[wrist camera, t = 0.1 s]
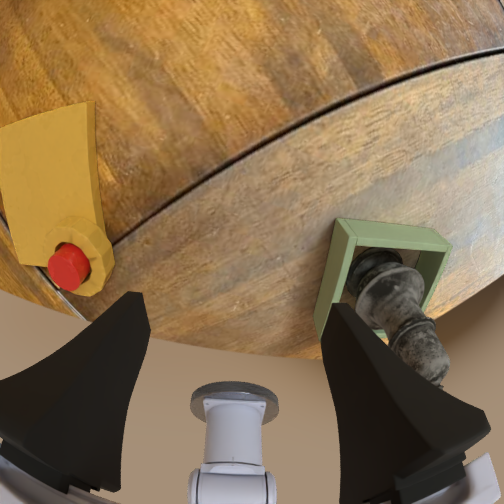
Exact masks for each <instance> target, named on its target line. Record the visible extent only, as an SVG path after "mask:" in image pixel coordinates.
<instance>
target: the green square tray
mask: <svg viewBox="0 0 504 504" xmlns="http://www.w3.org/2000/svg"><path fill="white" fill-rule="evenodd" d="M355 245H356V246H370V247H384V248H398V249H411V250H422V251H421V254H420V256H419V259H418V262H417V264H416V267H415V269H416V270H417V271H418V272H419V273H420V274H421V275H422V278H423V280H424V288H425V289H424V293H423V297H422V299H421V302H420V304H419V307H420V308H421V310H422V311H423V313H424V311H425V309H426V307H427V305H428V303H429V301H430V299H431V297H432V295H433V293H434V291H435V288H436V286H437V284H438V282H439V280H440V277H441V275H442V273H443V270H444V268H445V265H446V263H447V261H448V258H449V255H450V253H451V250H452V247H453V246H452V245H451V244H450V243H449V242H448V241H447V240H446V239H445V238H443V237H442V236H441V235H440V234H439V233H438V232H437V231H435V230H434V229H430V228H423V227H415V226H407V225H399V224H391V223H382V222H373V221H364V220H354V219H343V218H336V220H335V225H334V230H333V235H332V240H331V244H330V249H329V253H328V258H327V262H326V266H325V271H324V275H323V279H322V283H321V287H320V291H319V295H318V298H317V302H316V306H315V310H314V313H313V319H314V323H315V327H316V331H317V335H318V339H319V341H320V339H321V336H322V333H323V330H324V327H325V324H326V321H327V318H328V315H329V311H330V308H331V305H332V303H339V301H340V297H341V294H342V291H343V288H344V284H345V281H346V278H347V274H348V271H349V267H350V264H351V260H352V256H353V253H354V249H355ZM373 331H374V332H375V334H376V335H377V336H378V337H379V338H387V336H386V334H385V331H384V329H383V330H373Z"/></svg>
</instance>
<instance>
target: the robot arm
mask: <svg viewBox="0 0 504 504" xmlns="http://www.w3.org/2000/svg"><path fill="white" fill-rule="evenodd" d="M150 332H151V329H150V325H149V321H148V317H147V313H146V308H145V304H144V299H143V294H142V293H140V292H130V291H128V292H127V293H125V294H124V295H123V296H122V297H121V298H120V299H118V300H117V301H116V302H115V303H114V304H113V305H112V306H111V307H109V308H108V309H107V310H106V311H105V312H104V313H103V314H102V315H101V316H99V317H98V318H97V319H96V320H95V321H94V322H93V323H92V324H90V325H89V326H88V327H87V328H85V329H84V330H83V331H82V332H81V333H79V334H78V335H77V336H76V337H75V338H74V339H72V340H71V341H70V342H68V343H67V344H66V345H64V346H63V347H61V348H60V349H59V350H57V351H56V352H54V353H53V354H51V355H50V356H48V357H46V358H45V359H43V360H41V361H39V362H38V363H36V364H35V365H33V366H31V367H29V368H27V369H25V370H23V371H21V372H19V373H17V374H15V375H13V376H10V377H8V378H5V379H3V380H0V437H1V438H2V439H3V441H2V444H1V443H0V504H119V503H116V502H113V501H110V500H107V499H104V498H102V497H99V496H96V495H94V494H91V493H90V489H93V490H96V491H100V488H101V489H104V490H107V491H110V492H117V491H119V490H120V489H121V453H122V443H123V434H124V427H125V421H126V416H127V410H128V406H129V402H130V398H131V395H132V392H133V389H134V386H135V383H136V380H137V377H138V374H139V371H140V369H141V366H142V363H143V360H144V357H145V354H146V350H147V346H148V342H149V337H150ZM320 341H321V349H322V356H323V363H324V367H325V371H326V374H327V378H328V382H329V386H330V390H331V394H332V398H333V402H334V406H335V411H336V416H337V423H338V432H339V443H340V466H341V479H340V498H339V503H340V504H493V503H494V502H495V501H497V500H498V499H499V498H500V497H501V493H500V489H499V485H498V482H497V478H496V475H495V471H494V468H493V465H492V462H491V459H490V456H489V453H488V452H486V453H484V454H483V455H482V456H480V457H478V458H477V459H475V460H473V461H472V462H470V463H468V464H467V465H465V466H463V463H462V461H464V460H465V459H466V455H465V453H464V452H465V451H466V450H467V449H469V448H470V447H472V446H473V445H474V444H476V443H477V442H479V441H480V440H481V439H482V438H484V437H485V436H486V435H487V434H488V433H489V432H490V430H491V427H490V425H489V423H488V420H487V418H486V415H485V413H484V411H483V410H481V409H479V408H476V407H474V406H472V405H469V404H467V403H465V402H463V401H461V400H459V399H457V398H455V397H453V396H451V395H450V394H448V393H447V392H445V391H443V390H442V389H440V388H438V387H437V386H435V385H434V384H433V383H431V382H430V381H428V380H427V379H425V378H424V377H423V376H421V375H420V374H419V373H417V372H416V371H415V370H414V369H413V368H411V367H410V366H409V365H408V364H406V363H405V362H404V361H403V360H402V359H401V358H400V357H399V356H398V355H397V354H395V353H394V352H393V351H392V350H391V349H390V348H389V347H388V346H387V345H386V344H385V343H384V342H383V341H382V340H381V339H380V338H379V337H378V336H377V335H376V334H375V332H374V331H373V330H372V329H371V328H370V327H369V326H368V325H367V324H366V323H365V322H364V321H363V319H362V318H361V317H360V316H359V315H358V314H357V313H356V312H355V311H354V310H353V309H352V308H351V306H350V305H349V304H348V303H332V305H331V308H330V311H329V315H328V318H327V321H326V324H325V327H324V330H323V333H322V336H321V339H320ZM203 404H204V410H205V416H206V422H207V427H206V438H205V449H204V461H203V464H202V463H201V468H200V469H195V470H194V471H192V472H191V474H190V477H189V482H188V493H187V495H188V497H187V498H188V504H276V502H277V489H276V481H275V477H274V476H273V475H272V474H271V473H270V472H265V467H264V466H262V444H261V442H262V441H261V424H262V420H263V416H264V412H265V408H266V402H265V401H247V400H225V399H211V398H204V399H203Z"/></svg>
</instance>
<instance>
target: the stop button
mask: <svg viewBox="0 0 504 504" xmlns="http://www.w3.org/2000/svg"><path fill="white" fill-rule="evenodd" d="M48 271H49V274H50V276H51V278H52V279H53V281H54V282H55V283H56V284H57V285H58V286H59V287H61V288H62V289H64V290H67V291H74V290H76V289H77V288H78V287H79V286H80V285H81V283H82V282H83V281H84V279H85V278H86V277H87V275H88V274H89V272H90V262H89V259H88V258H87V257H86V255H85V254H84V252H83V251H82V250H81V249H80V248H79V247H77V246H76V245H74V244H71V243H67V244H64V245H63V246H61V247H60V248H59V249H58V250H57V251H56V252H55V253H54V254H53V255H52V256H51V257H50V259H49V261H48Z"/></svg>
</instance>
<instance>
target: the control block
mask: <svg viewBox="0 0 504 504" xmlns="http://www.w3.org/2000/svg"><path fill="white" fill-rule="evenodd" d="M0 188H1V194H2V199H3V204H4V208H5V213H6V217H7V221H8V225H9V229H10V233H11V236H12V240H13V243H14V247H15V250H16V253H17V256H18V259H19V262H20V264H26V265H34V266H42V267H47V268H48V261H49V259H50V257H51V256H52V255H53V254H54V253H55V252H56V251H57V250H58V249H59V248H60V247H61V246H63V245H64V244H67V243H71V244H74V245H76V246H77V247H79V248H80V249H81V250H82V251H83V252H84V254H85V255H86V257H87V258H88V259H89V262H90V272H89V274H88V275H87V277H86V278H85V279H84V281H83V282H82V283H81V285H80V286H79V287H78V288H77V289H76V290H74V291H70V292H72V293H73V294H76V295H82V296H92V295H94V294H96V293H98V292H99V291H101V290H102V289H103V287H104V286H105V284H106V283H107V281H108V280H109V278H110V277H111V274H112V271H113V268H114V266H115V260H114V255H113V250H112V245H111V243H110V241H109V240H108V239H107V236H106V230H105V225H104V218H103V212H102V205H101V197H100V189H99V180H98V169H97V156H96V137H95V101H88V102H82V103H78V104H73V105H69V106H65V107H61V108H57V109H54V110H50V111H47V112H43V113H40V114H37V115H34V116H31V117H28V118H25V119H22V120H19V121H16V122H14V123H11V124H8V125H6V126H3V127H1V128H0Z"/></svg>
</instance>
